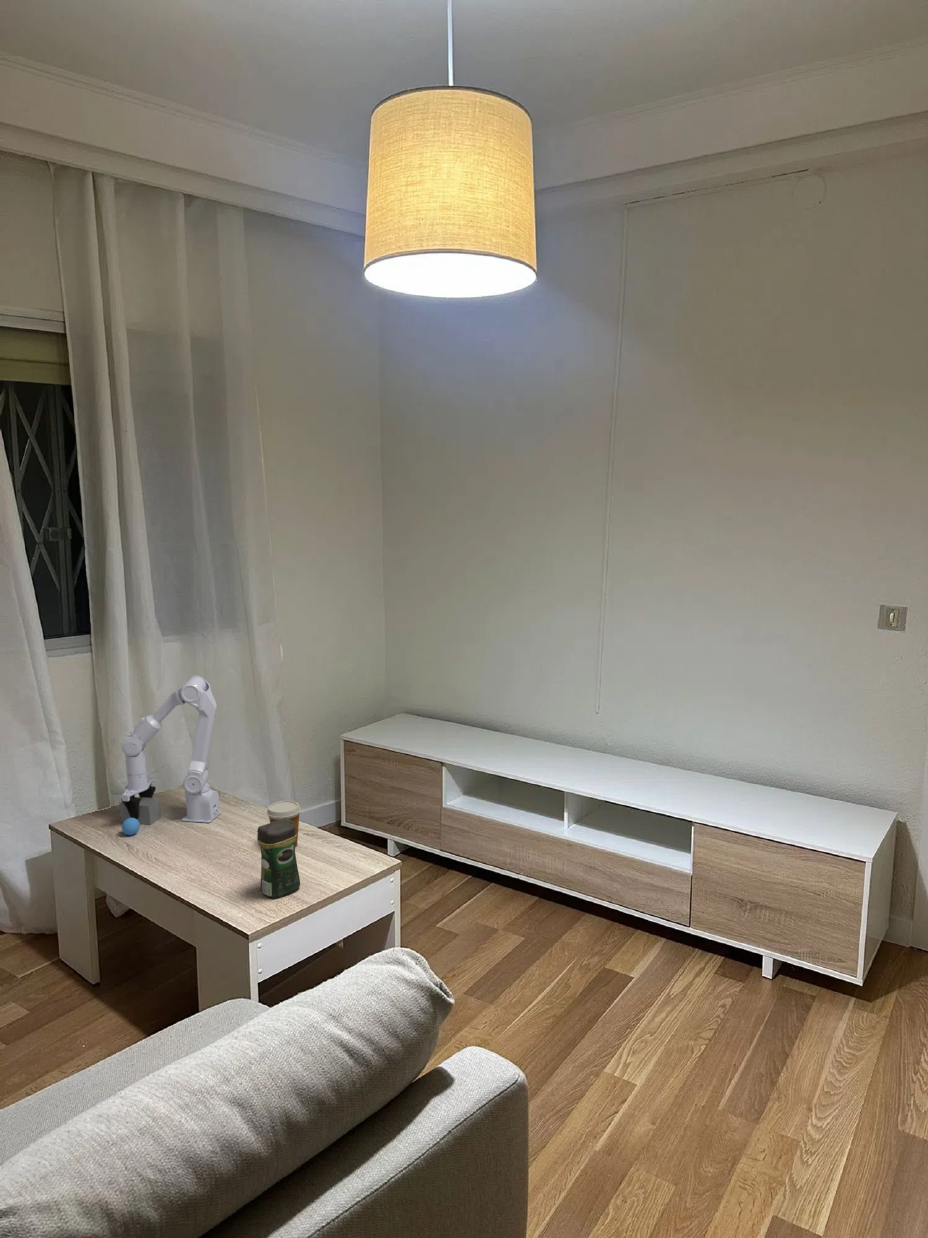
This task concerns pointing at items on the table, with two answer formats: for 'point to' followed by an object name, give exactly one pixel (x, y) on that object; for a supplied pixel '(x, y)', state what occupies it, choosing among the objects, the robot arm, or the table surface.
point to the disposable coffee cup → (285, 813)
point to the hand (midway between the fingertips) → (140, 814)
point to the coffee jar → (278, 858)
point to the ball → (130, 826)
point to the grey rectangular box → (144, 811)
